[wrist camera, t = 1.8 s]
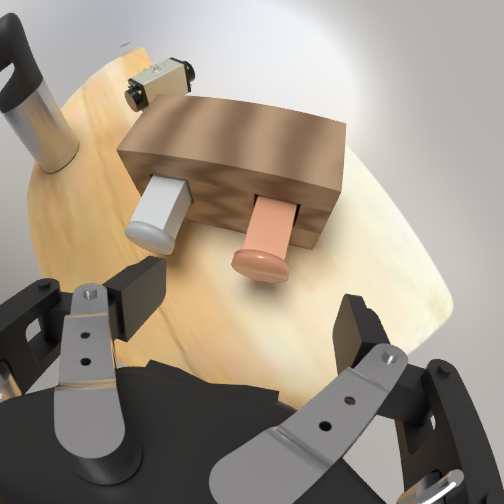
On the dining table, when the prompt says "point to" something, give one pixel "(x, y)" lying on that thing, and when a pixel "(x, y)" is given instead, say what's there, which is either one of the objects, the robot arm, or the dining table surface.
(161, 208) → the grey plug
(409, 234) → the dining table surface
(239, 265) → the terracotta plug
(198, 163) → the socket block
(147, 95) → the pneumatic valve
